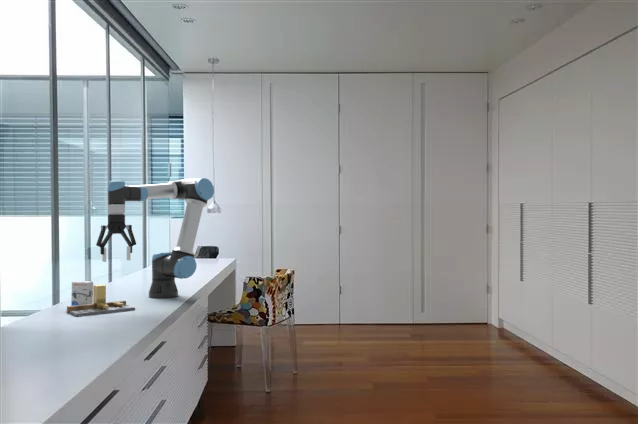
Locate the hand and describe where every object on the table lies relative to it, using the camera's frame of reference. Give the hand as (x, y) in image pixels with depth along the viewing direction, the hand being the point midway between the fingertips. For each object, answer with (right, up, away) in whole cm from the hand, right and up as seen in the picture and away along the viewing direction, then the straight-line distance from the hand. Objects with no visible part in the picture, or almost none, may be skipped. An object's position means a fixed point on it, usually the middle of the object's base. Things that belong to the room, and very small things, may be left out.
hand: (116, 260), depth 272 cm
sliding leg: (-4, -21, -7) cm, 23 cm away
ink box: (-18, -22, +4) cm, 29 cm away
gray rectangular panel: (-2, -22, -12) cm, 25 cm away
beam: (-5, -22, -8) cm, 24 cm away
